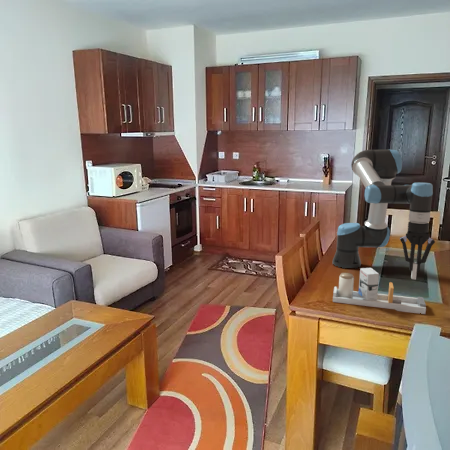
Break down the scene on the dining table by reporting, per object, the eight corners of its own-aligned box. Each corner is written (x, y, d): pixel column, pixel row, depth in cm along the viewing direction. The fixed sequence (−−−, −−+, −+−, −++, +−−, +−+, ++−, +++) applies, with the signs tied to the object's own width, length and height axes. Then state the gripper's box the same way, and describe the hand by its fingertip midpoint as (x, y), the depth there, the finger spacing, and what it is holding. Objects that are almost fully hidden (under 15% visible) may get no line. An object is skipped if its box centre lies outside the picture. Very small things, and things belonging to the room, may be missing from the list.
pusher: (387, 300, 171) (389, 282, 169) (399, 301, 169) (401, 283, 167) (388, 306, 164) (390, 288, 162) (401, 308, 163) (403, 289, 161)
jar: (338, 295, 176) (339, 271, 174) (352, 296, 175) (354, 273, 172) (337, 300, 171) (339, 276, 169) (352, 302, 169) (354, 277, 167)
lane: (334, 294, 179) (334, 285, 178) (421, 304, 168) (422, 294, 167) (332, 303, 170) (333, 293, 169) (425, 314, 158) (426, 304, 158)
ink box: (357, 293, 173) (359, 267, 171) (368, 292, 174) (370, 267, 171) (366, 301, 165) (368, 274, 163) (377, 300, 166) (379, 273, 163)
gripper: (402, 222, 156) (397, 279, 160) (438, 224, 152) (432, 282, 156) (400, 219, 163) (395, 274, 167) (435, 221, 159) (429, 277, 163)
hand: (413, 278), depth 162 cm, fingers closed
